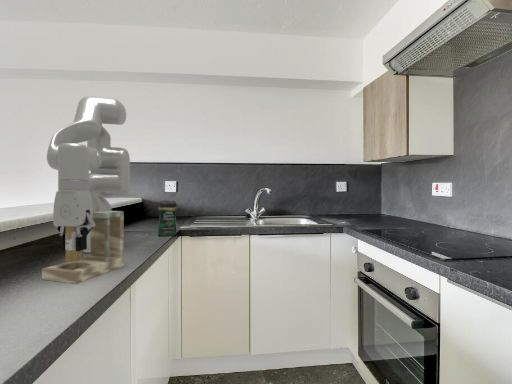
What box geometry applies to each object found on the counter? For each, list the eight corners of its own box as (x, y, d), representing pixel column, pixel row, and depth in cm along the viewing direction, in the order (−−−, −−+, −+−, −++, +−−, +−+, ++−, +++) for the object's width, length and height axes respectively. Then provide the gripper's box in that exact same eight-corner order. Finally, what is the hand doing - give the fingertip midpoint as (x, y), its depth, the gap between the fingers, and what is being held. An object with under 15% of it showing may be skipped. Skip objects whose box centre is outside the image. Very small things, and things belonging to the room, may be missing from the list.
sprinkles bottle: (63, 260, 84) (62, 214, 83) (80, 257, 87) (80, 213, 87) (67, 263, 81) (67, 215, 80) (85, 260, 84) (85, 214, 84)
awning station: (94, 263, 98) (93, 210, 98) (123, 266, 95) (123, 211, 94) (41, 279, 81) (41, 215, 80) (75, 283, 78) (75, 216, 77)
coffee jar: (158, 237, 149) (158, 201, 149) (157, 234, 156) (157, 200, 156) (177, 235, 152) (177, 200, 152) (176, 233, 160) (176, 200, 159)
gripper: (38, 186, 82) (39, 250, 82) (86, 186, 78) (86, 254, 78) (63, 186, 89) (63, 245, 90) (107, 186, 85) (108, 248, 85)
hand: (74, 249), depth 84 cm, fingers closed on sprinkles bottle, 4 cm apart
